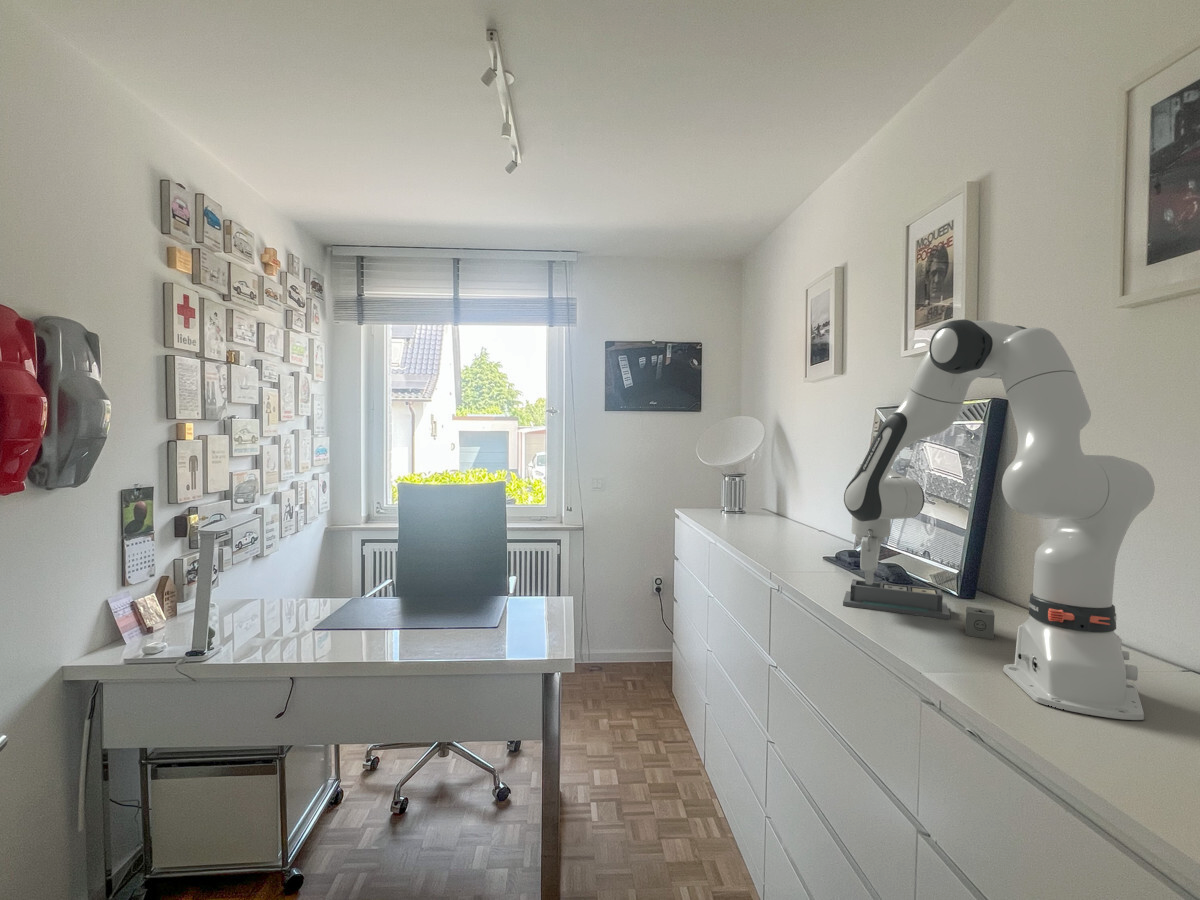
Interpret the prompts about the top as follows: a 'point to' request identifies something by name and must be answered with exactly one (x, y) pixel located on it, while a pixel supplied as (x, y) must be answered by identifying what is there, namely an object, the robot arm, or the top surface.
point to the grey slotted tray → (896, 599)
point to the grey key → (895, 587)
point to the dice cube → (980, 622)
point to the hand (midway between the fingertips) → (869, 583)
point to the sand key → (923, 591)
